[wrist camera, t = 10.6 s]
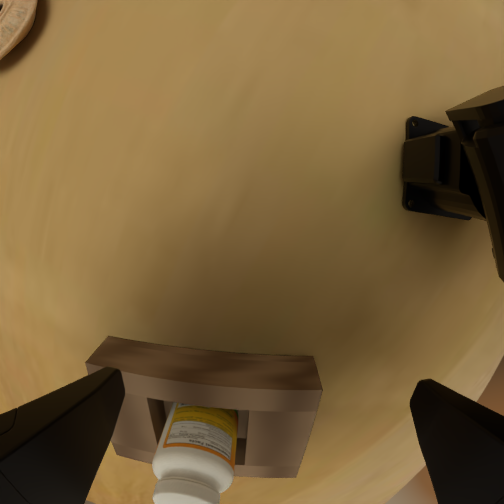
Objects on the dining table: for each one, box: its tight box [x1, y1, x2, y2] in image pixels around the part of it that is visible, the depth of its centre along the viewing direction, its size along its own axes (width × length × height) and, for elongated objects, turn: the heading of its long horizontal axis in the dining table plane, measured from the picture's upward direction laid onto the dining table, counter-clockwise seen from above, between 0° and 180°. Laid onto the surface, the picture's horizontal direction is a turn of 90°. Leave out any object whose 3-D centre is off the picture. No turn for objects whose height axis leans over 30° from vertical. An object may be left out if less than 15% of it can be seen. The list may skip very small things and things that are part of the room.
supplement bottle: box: [152, 402, 238, 504], centre depth 16 cm, size 5×5×10 cm
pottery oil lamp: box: [0, 0, 37, 60], centre depth 11 cm, size 9×12×7 cm
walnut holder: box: [85, 336, 323, 478], centre depth 20 cm, size 16×11×4 cm
